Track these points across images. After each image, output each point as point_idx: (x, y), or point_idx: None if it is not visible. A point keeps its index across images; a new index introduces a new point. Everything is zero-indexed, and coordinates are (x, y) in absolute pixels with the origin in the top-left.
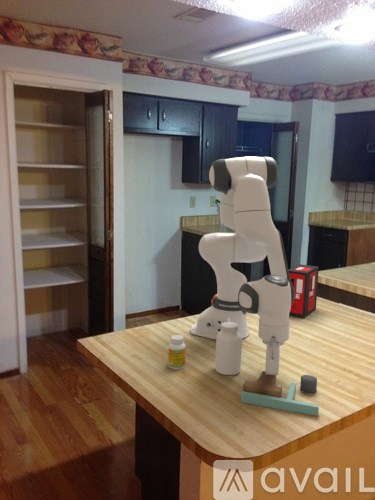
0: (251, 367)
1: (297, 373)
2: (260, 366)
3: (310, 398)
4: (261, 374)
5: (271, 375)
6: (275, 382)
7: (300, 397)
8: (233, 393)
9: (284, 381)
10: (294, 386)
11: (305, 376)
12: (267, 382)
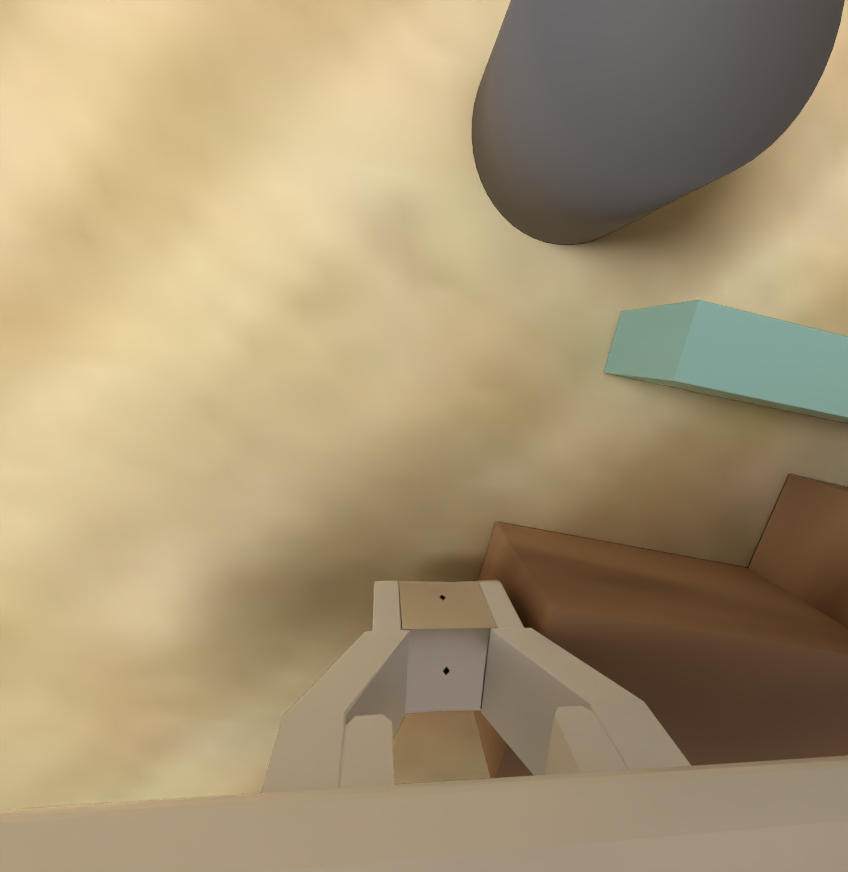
0: (111, 768)
1: (87, 216)
2: (40, 687)
3: (780, 147)
4: None
5: (635, 670)
6: (525, 541)
7: (754, 269)
8: None
9: (393, 422)
10: (791, 334)
11: (605, 65)
12: (833, 703)
